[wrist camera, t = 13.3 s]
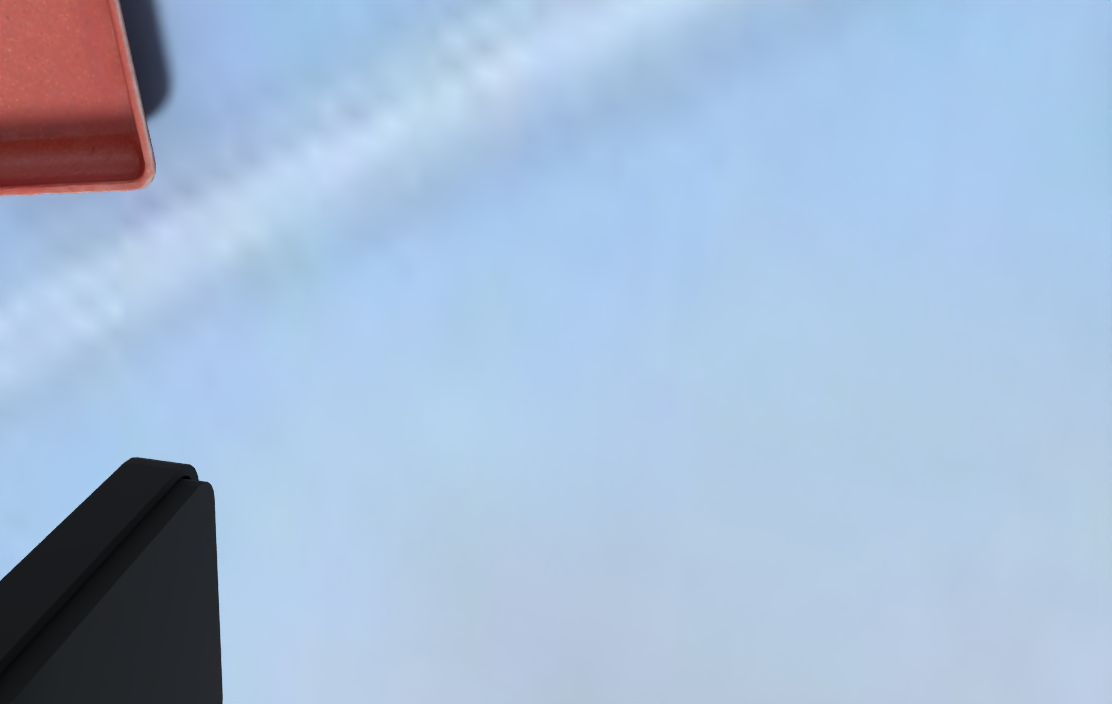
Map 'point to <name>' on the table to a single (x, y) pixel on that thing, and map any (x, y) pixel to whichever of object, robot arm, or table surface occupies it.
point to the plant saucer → (69, 100)
